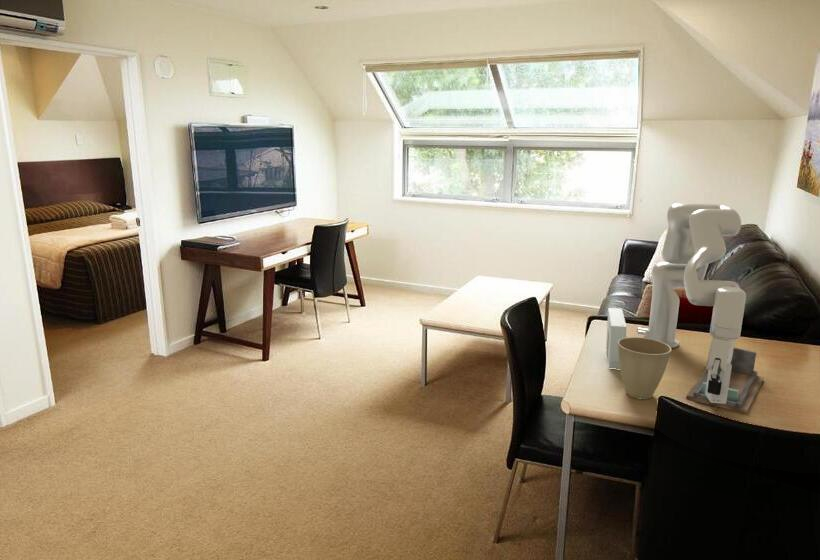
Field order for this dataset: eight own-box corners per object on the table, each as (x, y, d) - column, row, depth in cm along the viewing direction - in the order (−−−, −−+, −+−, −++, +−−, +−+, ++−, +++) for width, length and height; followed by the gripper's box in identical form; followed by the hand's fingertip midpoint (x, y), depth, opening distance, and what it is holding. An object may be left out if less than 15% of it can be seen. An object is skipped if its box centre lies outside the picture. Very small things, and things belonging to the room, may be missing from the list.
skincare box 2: (726, 404, 163) (732, 365, 160) (710, 403, 164) (716, 364, 161) (720, 395, 169) (725, 357, 166) (704, 393, 170) (709, 356, 167)
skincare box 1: (604, 348, 214) (608, 307, 210) (619, 349, 212) (623, 308, 209) (607, 369, 194) (611, 324, 190) (624, 371, 193) (628, 326, 189)
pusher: (701, 393, 173) (702, 383, 172) (701, 392, 174) (703, 381, 173) (736, 402, 167) (737, 391, 166) (736, 401, 168) (738, 390, 167)
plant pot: (671, 407, 167) (677, 356, 163) (617, 403, 170) (622, 352, 166) (658, 385, 181) (664, 338, 178) (609, 382, 184) (614, 335, 180)
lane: (686, 398, 173) (689, 370, 171) (708, 367, 196) (712, 342, 193) (746, 414, 163) (751, 384, 161) (763, 380, 186) (767, 354, 184)
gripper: (717, 320, 170) (709, 376, 175) (703, 336, 157) (695, 395, 161) (746, 325, 166) (737, 382, 170) (734, 342, 152) (724, 403, 157)
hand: (716, 388), depth 166 cm, fingers closed on skincare box 2, 7 cm apart
